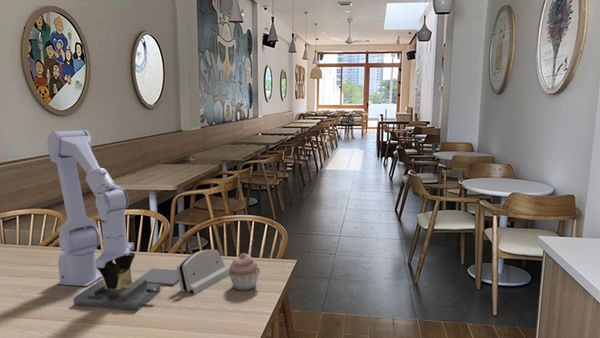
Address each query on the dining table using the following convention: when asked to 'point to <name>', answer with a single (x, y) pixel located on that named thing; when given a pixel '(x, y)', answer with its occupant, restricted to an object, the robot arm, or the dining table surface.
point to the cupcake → (244, 272)
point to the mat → (161, 277)
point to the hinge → (201, 270)
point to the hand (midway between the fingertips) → (117, 284)
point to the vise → (118, 296)
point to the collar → (121, 278)
